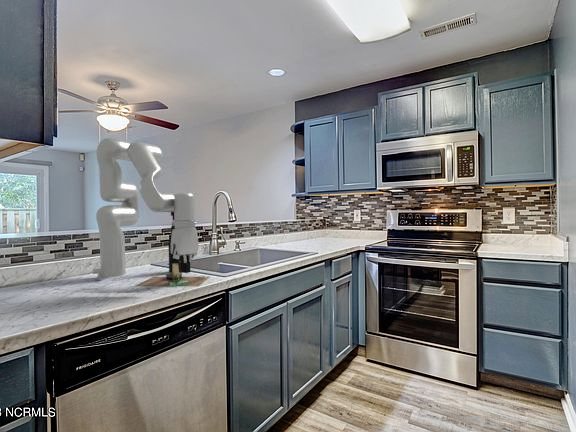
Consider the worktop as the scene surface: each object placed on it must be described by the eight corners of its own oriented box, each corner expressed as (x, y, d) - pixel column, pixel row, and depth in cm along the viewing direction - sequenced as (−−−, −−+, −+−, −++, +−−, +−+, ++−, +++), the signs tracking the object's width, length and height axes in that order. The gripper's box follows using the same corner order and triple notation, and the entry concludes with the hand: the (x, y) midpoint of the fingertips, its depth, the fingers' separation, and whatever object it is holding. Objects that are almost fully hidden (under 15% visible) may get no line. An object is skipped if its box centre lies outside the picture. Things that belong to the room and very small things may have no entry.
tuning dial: (165, 277, 131) (165, 259, 131) (181, 275, 133) (180, 258, 133) (168, 286, 116) (167, 265, 116) (185, 284, 118) (185, 264, 118)
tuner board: (133, 290, 117) (133, 283, 117) (153, 280, 133) (153, 274, 133) (198, 290, 116) (198, 283, 116) (210, 280, 132) (210, 274, 132)
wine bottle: (179, 273, 147) (177, 208, 146) (187, 275, 143) (185, 208, 142) (166, 275, 142) (164, 208, 141) (174, 277, 138) (172, 208, 137)
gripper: (193, 223, 131) (194, 268, 131) (161, 226, 118) (163, 275, 119) (206, 224, 127) (207, 270, 127) (175, 226, 114) (176, 277, 115)
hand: (186, 272), depth 123 cm, fingers closed
